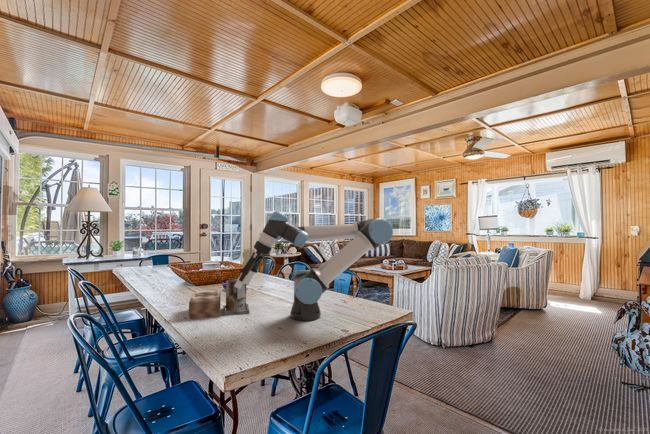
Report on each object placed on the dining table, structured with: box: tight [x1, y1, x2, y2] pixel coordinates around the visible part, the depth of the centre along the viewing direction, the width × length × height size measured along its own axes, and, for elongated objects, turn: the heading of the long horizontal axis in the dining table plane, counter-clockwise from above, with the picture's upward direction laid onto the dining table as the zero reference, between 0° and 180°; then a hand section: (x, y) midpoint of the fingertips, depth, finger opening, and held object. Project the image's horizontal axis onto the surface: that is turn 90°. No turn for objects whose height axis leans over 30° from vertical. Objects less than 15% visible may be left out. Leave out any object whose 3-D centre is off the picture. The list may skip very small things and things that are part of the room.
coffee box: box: [225, 278, 247, 312], centre depth 166 cm, size 9×6×16 cm
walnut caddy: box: [188, 290, 250, 320], centre depth 163 cm, size 28×18×10 cm, turn 107°
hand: (241, 285), depth 139 cm, fingers open, 13 cm apart
